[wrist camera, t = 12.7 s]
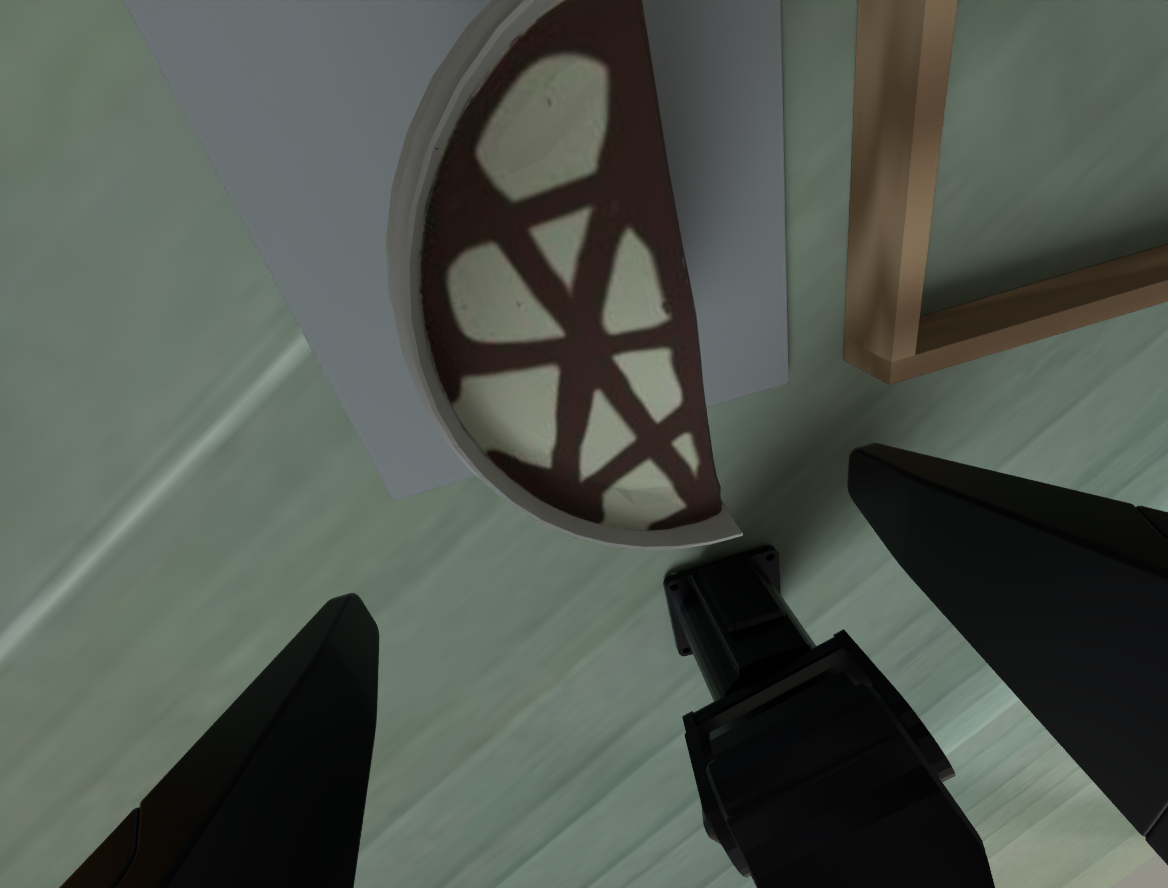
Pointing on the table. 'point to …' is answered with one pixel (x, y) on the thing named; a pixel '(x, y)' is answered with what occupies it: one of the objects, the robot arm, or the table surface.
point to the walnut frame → (904, 210)
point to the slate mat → (371, 154)
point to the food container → (555, 278)
